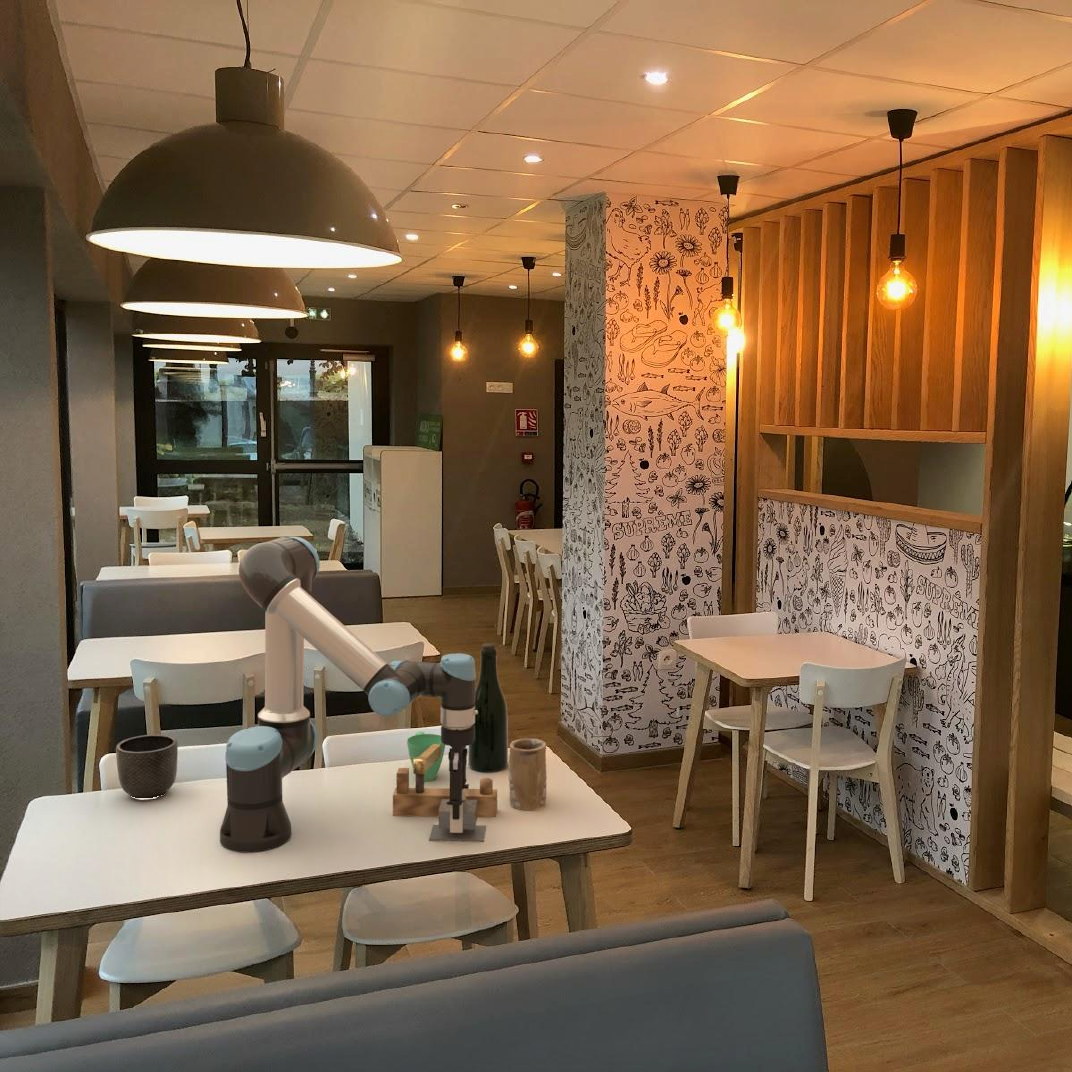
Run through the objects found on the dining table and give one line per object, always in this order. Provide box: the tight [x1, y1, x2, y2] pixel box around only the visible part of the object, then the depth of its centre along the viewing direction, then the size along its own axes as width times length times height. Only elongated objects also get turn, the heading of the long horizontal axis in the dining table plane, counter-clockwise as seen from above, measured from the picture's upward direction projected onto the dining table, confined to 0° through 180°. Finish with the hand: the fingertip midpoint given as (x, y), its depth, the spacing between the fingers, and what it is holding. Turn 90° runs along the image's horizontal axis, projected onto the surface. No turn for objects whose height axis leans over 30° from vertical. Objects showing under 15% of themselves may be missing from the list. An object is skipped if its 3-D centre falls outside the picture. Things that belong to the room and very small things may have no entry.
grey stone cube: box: [437, 799, 478, 830], centre depth 230 cm, size 8×7×4 cm
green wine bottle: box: [467, 642, 509, 773], centre depth 272 cm, size 10×10×33 cm
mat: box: [428, 824, 487, 843], centre depth 230 cm, size 12×8×1 cm, turn 89°
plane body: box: [392, 767, 498, 818], centre depth 241 cm, size 24×5×10 cm, turn 89°
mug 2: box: [508, 738, 548, 811], centre depth 249 cm, size 9×13×15 cm
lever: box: [412, 744, 441, 775], centre depth 246 cm, size 14×3×3 cm, turn 166°
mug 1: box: [406, 731, 446, 782], centre depth 266 cm, size 15×10×10 cm
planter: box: [115, 734, 179, 798], centre depth 250 cm, size 14×14×13 cm
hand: (457, 824), depth 230 cm, fingers closed on grey stone cube, 7 cm apart
